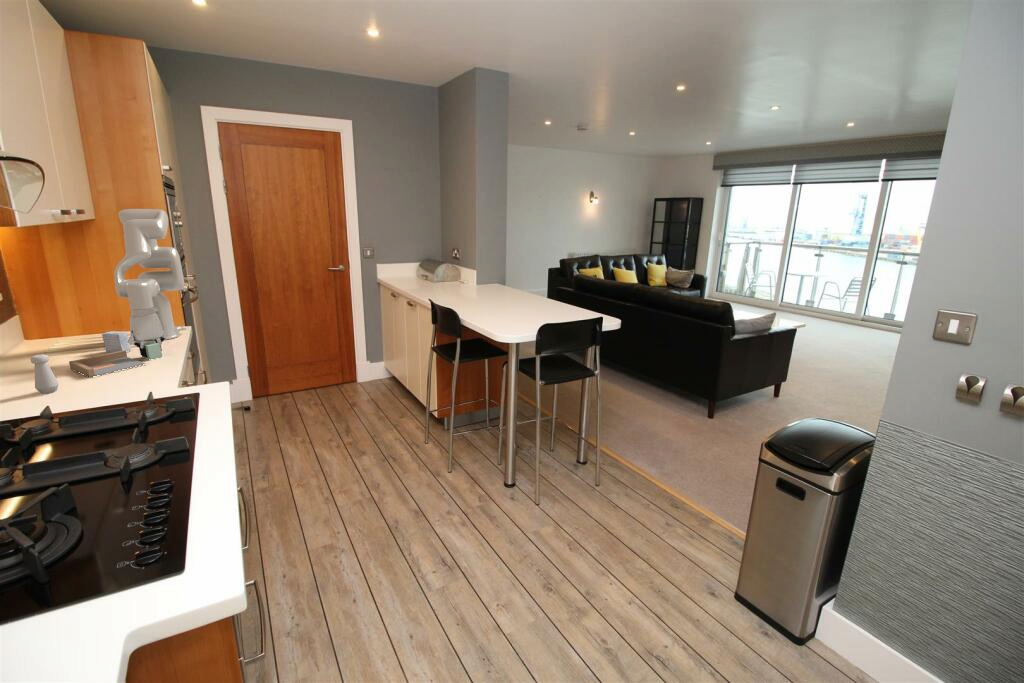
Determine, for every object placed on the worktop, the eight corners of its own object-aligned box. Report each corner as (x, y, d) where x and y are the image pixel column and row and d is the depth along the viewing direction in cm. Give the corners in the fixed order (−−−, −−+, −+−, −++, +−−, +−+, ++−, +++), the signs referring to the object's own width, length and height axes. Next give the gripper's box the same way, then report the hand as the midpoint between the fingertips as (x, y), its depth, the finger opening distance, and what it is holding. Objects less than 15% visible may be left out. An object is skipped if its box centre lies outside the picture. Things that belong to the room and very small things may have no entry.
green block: (154, 354, 206) (151, 341, 204) (162, 357, 202) (159, 343, 201) (142, 357, 202) (139, 343, 201) (150, 360, 199) (147, 346, 197)
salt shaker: (53, 387, 169) (44, 352, 165) (63, 390, 167) (54, 353, 163) (32, 393, 163) (22, 356, 160) (42, 396, 161) (32, 358, 158)
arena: (125, 357, 202) (124, 350, 201) (146, 365, 193) (144, 357, 192) (70, 369, 187) (68, 361, 186) (89, 378, 178) (87, 369, 177)
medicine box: (131, 350, 211) (127, 331, 209) (122, 353, 207) (118, 334, 205) (115, 350, 212) (110, 331, 210) (105, 353, 208) (101, 333, 206)
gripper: (161, 307, 206) (169, 348, 211) (114, 314, 192) (123, 358, 197) (170, 309, 202) (178, 351, 207) (122, 317, 188) (132, 362, 193)
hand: (151, 354), depth 202 cm, fingers closed on green block, 4 cm apart
